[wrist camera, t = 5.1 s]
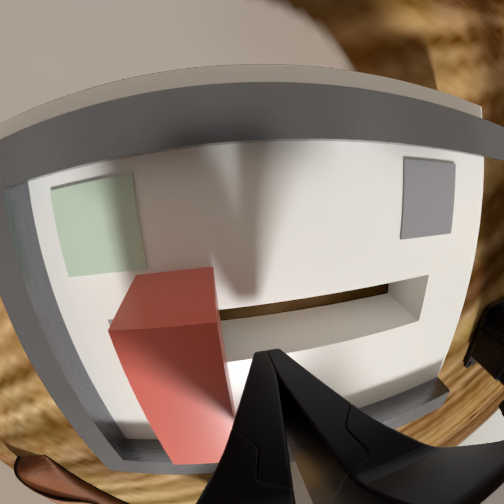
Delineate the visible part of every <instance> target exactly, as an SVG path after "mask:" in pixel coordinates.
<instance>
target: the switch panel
mask: <svg viewBox="0 0 504 504" xmlns="http://www.w3.org/2000/svg"><path fill="white" fill-rule="evenodd" d="M237 82H298V83H316V84H328V85H338V86H347V87H355V88H362V89H369V90H375V91H381V92H387V93H392V94H397V95H402V96H407V97H411V98H416V99H420V100H424V101H428V102H432V103H435V104H439V105H442V106H446V107H449V108H453V109H456V110H459V111H462V112H465V113H468V114H471V115H474V116H477V117H480V118H482V109H481V106H479V105H476V104H474V103H471V102H469V101H466V100H464V99H461V98H458V97H455V96H452V95H449V94H446V93H443V92H440V91H437V90H434V89H431V88H427V87H424V86H420V85H417V84H413V83H409V82H405V81H401V80H397V79H392V78H388V77H383V76H378V75H373V74H367V73H361V72H355V71H348V70H341V69H333V68H324V67H313V66H300V65H279V64H244V65H243V64H242V65H220V66H207V67H196V68H187V69H180V70H172V71H165V72H159V73H153V74H148V75H142V76H137V77H133V78H128V79H123V80H120V81H115V82H111V83H107V84H103V85H99V86H96V87H92V88H89V89H86V90H82V91H79V92H76V93H73V94H70V95H67V96H64V97H61V98H59V99H56V100H53V101H50V102H48V103H45V104H43V105H40V106H38V107H35V108H33V109H30V110H28V111H26V112H23V113H21V114H19V115H17V116H15V117H13V118H11V119H9V120H6V121H5V122H2V123H0V139H2V138H4V137H6V136H8V135H10V134H13V133H15V132H17V131H20V130H22V129H24V128H27V127H29V126H32V125H34V124H37V123H39V122H42V121H45V120H47V119H50V118H53V117H56V116H59V115H62V114H65V113H68V112H71V111H74V110H77V109H81V108H84V107H87V106H91V105H95V104H98V103H102V102H106V101H110V100H114V99H119V98H123V97H128V96H132V95H137V94H142V93H148V92H153V91H159V90H166V89H173V88H180V87H188V86H197V85H207V84H220V83H237ZM483 180H484V157H479V156H474V155H468V154H463V153H457V152H451V151H444V150H438V149H430V148H422V147H414V146H405V145H394V144H382V143H367V142H346V141H274V142H253V143H237V144H224V145H213V146H203V147H194V148H186V149H178V150H171V151H164V152H157V153H150V154H144V155H138V156H133V157H127V158H122V159H117V160H112V161H107V162H102V163H98V164H93V165H89V166H85V167H80V168H76V169H72V170H68V171H65V172H61V173H57V174H53V175H50V176H46V177H43V178H39V179H36V180H33V181H30V182H28V185H29V192H30V199H31V205H32V211H33V216H34V221H35V226H36V231H37V235H38V240H39V244H40V248H41V252H42V256H43V259H44V263H45V267H46V270H47V273H48V277H49V280H50V283H51V286H52V289H53V292H54V295H55V298H56V301H57V304H58V307H59V309H60V312H61V315H62V317H63V320H64V322H65V325H66V327H67V330H68V332H69V335H70V337H71V339H72V342H73V344H74V346H75V348H76V350H77V353H78V355H79V357H80V359H81V361H82V363H83V365H84V367H85V369H86V371H87V373H88V375H89V377H90V379H91V381H92V383H93V385H94V386H95V388H96V390H97V392H98V394H99V395H100V397H101V399H102V401H103V402H104V404H105V406H106V407H107V409H108V411H109V412H110V414H111V416H112V417H113V419H114V420H115V422H116V424H117V425H118V427H119V428H120V430H121V431H122V433H123V434H124V436H125V437H126V438H128V439H158V438H157V436H156V434H155V432H154V431H153V429H152V427H151V425H150V423H149V422H148V420H147V418H146V416H145V414H144V412H143V410H142V408H141V406H140V404H139V402H138V400H137V398H136V396H135V394H134V392H133V390H132V388H131V386H130V383H129V381H128V379H127V377H126V375H125V372H124V370H123V368H122V365H121V363H120V361H119V358H118V356H117V353H116V351H115V348H114V346H113V343H112V341H111V338H110V335H109V333H108V329H109V327H110V325H111V323H112V321H113V319H114V317H115V315H116V313H117V311H118V309H119V307H120V305H121V303H122V301H123V299H124V297H125V295H126V293H127V291H128V289H129V287H130V285H131V284H132V282H133V280H134V278H135V276H136V275H140V274H149V273H159V272H168V271H177V270H186V269H195V268H204V267H213V269H214V277H215V284H216V292H217V299H218V307H219V310H222V309H231V308H239V307H247V306H254V305H262V304H269V303H276V302H283V301H290V300H296V299H303V298H309V297H315V296H321V295H327V294H333V293H339V292H345V291H350V290H356V289H361V288H366V287H372V286H377V285H382V284H387V283H389V286H388V293H386V294H381V295H376V296H372V297H367V298H362V299H357V300H352V301H347V302H342V303H336V304H331V305H325V306H320V307H314V308H308V309H302V310H296V311H290V312H283V313H276V314H270V315H263V316H255V317H248V318H240V319H232V320H224V321H221V327H222V334H223V341H224V347H225V354H226V360H227V366H228V372H229V378H230V384H231V390H232V395H233V401H234V408H235V415H236V413H237V409H238V406H239V403H240V399H241V396H242V393H243V389H244V386H245V383H246V379H247V376H248V372H249V369H250V366H251V362H252V359H253V355H254V353H255V352H258V351H265V350H266V351H267V350H271V349H281V350H282V351H283V352H285V353H286V354H287V355H288V356H290V357H291V358H292V359H293V360H295V361H296V362H297V363H298V364H300V365H301V366H302V367H304V368H305V369H306V370H308V371H309V372H310V373H311V374H313V375H314V376H315V377H317V378H318V379H319V380H321V381H322V382H323V383H325V384H326V385H327V386H329V387H330V388H331V389H333V390H334V391H335V392H337V393H338V394H339V395H341V396H342V397H343V398H345V399H346V400H348V401H349V402H350V403H351V405H352V404H353V405H355V406H356V407H358V408H361V407H364V406H367V405H370V404H373V403H375V402H378V401H381V400H384V399H386V398H389V397H392V396H394V395H397V394H399V393H402V392H404V391H407V390H409V389H411V388H414V387H416V386H418V385H421V384H423V383H425V382H427V381H429V380H432V379H434V378H436V377H438V374H439V372H440V370H441V367H442V365H443V363H444V360H445V358H446V355H447V352H448V350H449V347H450V344H451V342H452V339H453V336H454V333H455V330H456V327H457V324H458V321H459V318H460V314H461V311H462V308H463V304H464V301H465V297H466V293H467V289H468V285H469V281H470V277H471V272H472V267H473V263H474V257H475V252H476V246H477V240H478V233H479V226H480V218H481V209H482V197H483Z"/></svg>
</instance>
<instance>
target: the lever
mask: <svg viewBox="0 0 504 504" xmlns="http://www.w3.org/2000/svg"><path fill="white" fill-rule="evenodd" d="M108 333H109V335H110V338H111V341H112V343H113V346H114V348H115V351H116V353H117V356H118V358H119V361H120V363H121V365H122V368H123V370H124V372H125V375H126V377H127V379H128V381H129V383H130V386H131V388H132V390H133V392H134V394H135V396H136V398H137V400H138V402H139V404H140V406H141V408H142V410H143V412H144V414H145V416H146V418H147V420H148V422H149V423H150V425H151V427H152V429H153V431H154V432H155V434H156V436H157V438H158V439H159V441H160V443H161V445H162V446H163V448H164V450H165V451H166V453H167V454H168V456H169V458H170V459H171V461H172V462H173V464H174V465H181V464H207V463H219V460H220V458H221V456H222V454H223V452H224V449H225V446H226V444H227V441H228V438H229V435H230V432H231V430H232V426H233V422H234V419H235V416H236V415H235V408H234V401H233V395H232V390H231V384H230V378H229V372H228V366H227V360H226V354H225V347H224V341H223V334H222V327H221V321H220V314H219V307H218V299H217V292H216V284H215V277H214V269H213V267H204V268H195V269H186V270H177V271H168V272H159V273H149V274H140V275H136V276H135V278H134V280H133V282H132V284H131V285H130V287H129V289H128V291H127V293H126V295H125V297H124V299H123V301H122V303H121V305H120V307H119V309H118V311H117V313H116V315H115V317H114V319H113V321H112V323H111V325H110V327H109V329H108Z"/></svg>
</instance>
